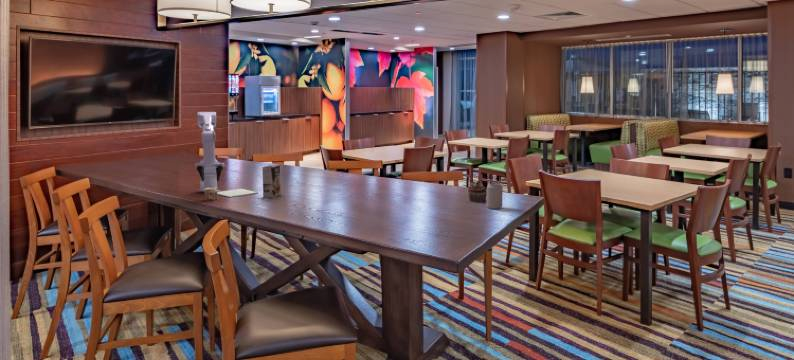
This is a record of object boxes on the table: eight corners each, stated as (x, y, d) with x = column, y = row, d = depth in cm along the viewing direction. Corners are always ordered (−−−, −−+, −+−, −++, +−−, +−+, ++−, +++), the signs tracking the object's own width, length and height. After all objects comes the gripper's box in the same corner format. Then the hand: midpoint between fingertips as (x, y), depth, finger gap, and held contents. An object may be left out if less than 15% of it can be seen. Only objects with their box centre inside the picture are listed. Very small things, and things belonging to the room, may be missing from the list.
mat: (213, 193, 305) (213, 192, 305) (241, 189, 318) (241, 188, 317) (229, 197, 294) (229, 196, 294) (257, 193, 306) (257, 192, 306)
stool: (204, 200, 287) (203, 189, 286) (207, 198, 292) (207, 187, 291) (215, 200, 287) (214, 189, 286) (218, 198, 292) (217, 187, 291)
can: (490, 205, 275) (491, 181, 273) (504, 207, 270) (505, 183, 268) (483, 208, 268) (484, 183, 267) (498, 210, 264) (498, 185, 262)
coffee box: (274, 197, 294) (273, 167, 291) (262, 197, 295) (261, 167, 292) (281, 194, 302) (280, 165, 300) (270, 194, 304) (269, 164, 301)
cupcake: (475, 203, 280) (475, 183, 279) (464, 200, 289) (464, 181, 287) (490, 201, 285) (491, 182, 283) (479, 198, 293) (480, 179, 292)
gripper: (192, 155, 282) (193, 182, 284) (221, 155, 282) (222, 181, 284) (196, 154, 289) (198, 180, 291) (225, 153, 289) (226, 179, 291)
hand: (210, 180), depth 288 cm, fingers open, 7 cm apart
